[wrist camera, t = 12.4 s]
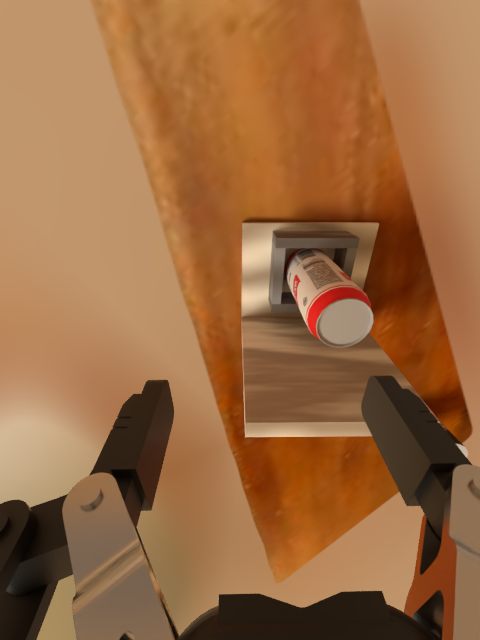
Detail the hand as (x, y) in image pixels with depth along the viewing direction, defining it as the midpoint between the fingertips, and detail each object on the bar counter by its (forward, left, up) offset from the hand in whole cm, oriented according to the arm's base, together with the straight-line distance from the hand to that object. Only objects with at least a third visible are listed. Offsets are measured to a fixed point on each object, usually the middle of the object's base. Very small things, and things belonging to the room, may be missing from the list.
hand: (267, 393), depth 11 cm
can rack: (+6, +9, -30) cm, 32 cm away
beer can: (+4, +8, -29) cm, 31 cm away
